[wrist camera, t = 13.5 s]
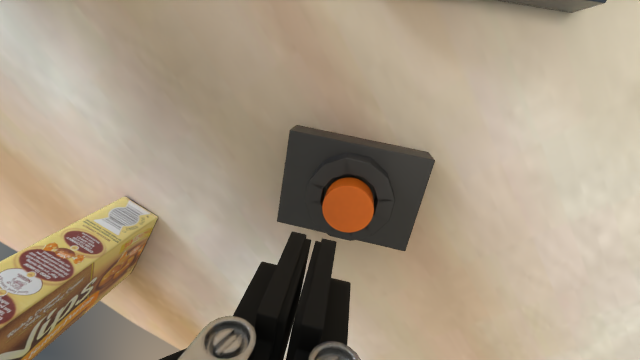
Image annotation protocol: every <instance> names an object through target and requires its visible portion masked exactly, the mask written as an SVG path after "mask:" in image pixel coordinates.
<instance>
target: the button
mask: <svg viewBox="0 0 640 360" xmlns="http://www.w3.org/2000/svg"><path fill="white" fill-rule="evenodd" d="M322 211H323V215H324V218H325V220H326V221H327V222H328V224H329V225H330V226H332V227H333V228H334V229H336V230H339V231H342V232H348V233H350V232H356V231H359V230H361V229H363V228H365V227H366V226H367V225H368V224H369V223H370V221H371V220H372V217H373V214H374V202H373V194H372V191H371V190H370V188H369V187H368V185H367V184H366V183H364V182H363V181H361V180H359V179H357V178H352V177H345V178H341V179H338V180H336V181H335V182H333V183H332V184H331V185H330V186H329V188H328V190H327V192H326V195H325V198H324V201H323V205H322Z"/></svg>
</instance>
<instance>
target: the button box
mask: <svg viewBox="0 0 640 360" xmlns="http://www.w3.org/2000/svg"><path fill="white" fill-rule="evenodd" d="M434 162H435V160H434V159H433V157H432V156H431V155H430V154H429V153H428V152H424V151H420V150H415V149H410V148H405V147H400V146H395V145H390V144H386V143H381V142H376V141H371V140H366V139H361V138H357V137H352V136H347V135H342V134H337V133H332V132H328V131H323V130H318V129H313V128H308V127H303V126H298V125H297V126H295V127H294V128H293V129H291V130H290V134H289V141H288V148H287V155H286V162H285V169H284V176H283V183H282V190H281V197H280V204H279V211H278V218H277V222H281V223H286V224H290V225H294V226H299V227H303V228H307V229H311V230H316V231H320V232H324V233H327V234H328V235H330V236H332V237H337V238H341V239H345V240H350V241H351V240H359V241H363V242H367V243H372V244H376V245H380V246H385V247H389V248H393V249H398V250H402V251H405V250H406V247H407V244H408V241H409V238H410V235H411V232H412V229H413V226H414V223H415V219H416V216H417V213H418V210H419V207H420V204H421V201H422V198H423V195H424V192H425V189H426V186H427V183H428V180H429V177H430V174H431V171H432V168H433V165H434ZM345 177H352V178H357V179H359V180H361V181H363V182H364V183H366V184H367V185H368V187H369V188H370V190H371V191H372V194H373V202H374V214H373V217H372V220H371V221H370V223H369V224H368V225H367V226H366V227H365V228H363V229H361V230H359V231H356V232H350V233H348V232H342V231H339V230H336V229H334V228H333V227H332V226H330V225H329V224H328V222H327V221H326V220H325V218H324V215H323V211H322V205H323V201H324V198H325V195H326V192H327V190H328V188H329V186H330V185H331V184H332V183H333V182H335V181H336V180H338V179H341V178H345Z"/></svg>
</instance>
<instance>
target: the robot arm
mask: <svg viewBox="0 0 640 360" xmlns="http://www.w3.org/2000/svg"><path fill="white" fill-rule="evenodd" d="M310 244H311V240H309V239H306V235H305V234H301V233H297V232H292V233H291V235H290V237H289V239H288V242H287V244H286V246H285V248H284V251H283V253H282V255H281V258H280V260H279V262H278V265H274V264H270V263H266V262H261V264H260V265H259V267H258V269H257V271H256V273H255V275H254V277H253V279H252V281H251V282H250V284H249V286H248V288H247V290H246V292H245V294H244V296H243V298H242V300H241V301H240V303H239V305H238V307H237V309H236V311H235V313H234V315H233V316H225V317H221V318H218V319H216V320H214V321H212V322H210V323H209V324H208V325H207V326H206V327H204V328H203V330H202V331H201V332H200V333H199V334H198V336H197V337H196V338H195V339H194V340H193V342H192V343H191V344H190V345H189V346H188V348H186V349H184V350H181V351H179V352H176V353H174V354H172V355H170V356H167V357H164V358H162V359H160V360H283V358H284V355H285V351H286V347H287V344H288V340H289V336H290V333H291V337H290V342H289V347H288V352H287V357H286V360H361V359H360V358H359V356H358V355H357V353H356V352H354V351H353V350H352V349H351V348H350V347H348V346H347V338H348V320H349V302H350V282H346V281H342V280H338V279H333V278H331V274H332V268H333V261H334V255H335V248H336V241H331V240H327V239H323V238H322V241H321V242H318V241H315V245H314V249H313V252H312V256H311V260H310V263H309V267H308V270H307V274H306V278H305V281H304V285H303V289H302V284H303V279H304V274H305V269H306V264H307V259H308V254H309V249H310ZM301 289H302V292H301ZM300 294H301V296H300ZM299 299H300V300H299ZM292 325H293V327H292ZM291 329H292V332H291Z"/></svg>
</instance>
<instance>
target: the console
mask: <svg viewBox="0 0 640 360" xmlns="http://www.w3.org/2000/svg"><path fill="white" fill-rule="evenodd" d="M498 1H504V2H510V3H516V4H522V5H528V6H534V7H540V8H546V9H552V10H558V11H564V12H570V13H573V12H576V11H579V10H583V9H586V8H590V7H593V6H596V5H600V4H603V3H605V2H606V0H498Z"/></svg>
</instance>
